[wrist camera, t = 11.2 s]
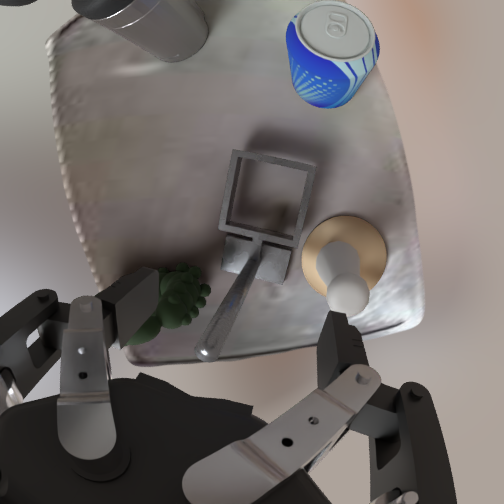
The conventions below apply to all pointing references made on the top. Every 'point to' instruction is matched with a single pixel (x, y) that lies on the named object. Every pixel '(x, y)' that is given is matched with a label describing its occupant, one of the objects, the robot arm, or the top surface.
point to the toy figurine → (173, 302)
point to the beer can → (330, 52)
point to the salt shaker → (342, 278)
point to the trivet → (355, 235)
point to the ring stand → (249, 254)
